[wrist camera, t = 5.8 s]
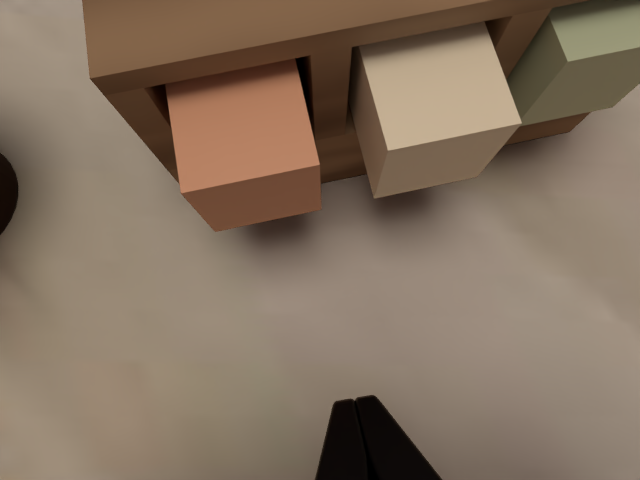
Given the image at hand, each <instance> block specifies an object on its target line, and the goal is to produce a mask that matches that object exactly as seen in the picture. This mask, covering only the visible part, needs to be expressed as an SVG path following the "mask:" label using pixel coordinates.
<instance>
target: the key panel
mask: <svg viewBox="0 0 640 480" xmlns="http://www.w3.org/2000/svg"><path fill="white" fill-rule="evenodd" d="M585 1H590V0H82V3H83V13H84V23H85V34H86V44H87V54H88V65H89V75H90V79H91V80H92V82H93V83H94V84H95V85H96V86H97V87H98V89H99V90H100V91H101V92H102V93H103V95H104V96H105V97H106V98H107V99H108V100H109V102H110V103H111V104H112V105H113V106H114V108H115V109H116V110H117V111H118V112H119V113H120V115H121V116H122V117H123V118H124V119H125V120H126V122H127V123H128V124H129V125H130V126H131V128H132V129H133V130H134V131H135V132H136V133H137V135H138V136H139V137H140V138H141V139H142V140H143V142H144V143H145V144H146V145H147V146H148V148H149V149H150V150H151V151H152V152H153V153H154V155H155V156H156V157H157V158H158V159H159V161H160V162H161V163H162V164H163V165H164V166H165V168H166V169H167V170H168V171H169V172H170V173H171V175H172V176H173V177H174V178H175V179H176V181H177V182H178V183H179V176H178V169H177V162H176V156H175V149H174V142H173V135H172V128H171V121H170V114H169V107H168V100H167V94H166V87H165V84H167V83H172V82H177V81H182V80H187V79H192V78H197V77H202V76H207V75H212V74H217V73H223V72H228V71H233V70H238V69H243V68H248V67H253V66H258V65H263V64H268V63H274V62H279V61H284V60H289V59H294V58H295V60H296V65H297V69H298V73H299V78H300V82H301V86H302V90H303V95H304V99H305V103H306V107H307V112H308V116H309V120H310V124H311V129H312V133H313V137H314V142H315V146H316V150H317V154H318V159H319V163H320V181H321V183H325V182H330V181H335V180H340V179H345V178H349V177H354V176H359V175H364V174H367V170H366V167H365V163H364V159H363V155H362V151H361V148H360V144H359V140H358V136H357V132H356V128H355V125H354V121H353V117H352V113H351V109H350V106H349V102H348V89H349V77H350V64H351V52H352V47H355V46H360V45H365V44H370V43H376V42H381V41H386V40H391V39H396V38H401V37H406V36H411V35H416V34H421V33H427V32H432V31H437V30H442V29H447V28H452V27H457V26H462V25H467V24H472V23H478V22H483V21H484V22H485V25H486V27H487V30H488V33H489V35H490V38H491V41H492V43H493V46H494V49H495V52H496V54H497V57H498V60H499V62H500V65H501V68H502V71H503V73H504V76H505V79H507V78H508V76H509V75H510V73H511V72H512V70H513V69H514V67H515V65H516V64H517V62H518V61H519V59H520V58H521V56H522V55H523V53H524V51H525V50H526V48H527V47H528V45H529V44H530V42H531V41H532V39H533V38H534V36H535V34H536V33H537V31H538V30H539V28H540V27H541V25H542V24H543V22H544V20H545V19H546V17H547V16H548V14H549V13H550V11H551V10H552V8H554V7H559V6H564V5H569V4H574V3H580V2H585ZM589 113H590V112H587V113H582V114H577V115H573V116H568V117H563V118H558V119H553V120H548V121H544V122H539V123H534V124H529V125H524V126H519V127H518V128H517V130H516V131H515V132H514V133H513V134H512V136H511V137H510V138H509V139H508V141H507V142H506V143H505V144H504V145H508V144H513V143H518V142H523V141H527V140H532V139H537V138H542V137H547V136H551V135H556V134H561V133H566V132H570V131H571V130H572V129H573V128H574V127H575V126H576V125H578V124H579V123H580V122H581V121H582V120H583V119H584V118H585V117H586V116H587V115H588V114H589ZM179 184H180V183H179Z"/></svg>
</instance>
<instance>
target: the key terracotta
mask: <svg viewBox="0 0 640 480" xmlns="http://www.w3.org/2000/svg"><path fill="white" fill-rule="evenodd" d="M165 87H166V94H167V100H168V107H169V114H170V121H171V128H172V135H173V142H174V149H175V156H176V162H177V169H178V176H179V183H180V190H181V194H182V195H183V196H184V197H185V198H186V200H187V201H188V202H189V203H190V204H191V205H192V206H193V207H194V209H195V210H196V211H197V212H198V213H199V214H200V215H201V216H202V218H203V219H204V220H205V221H206V222H207V223H208V224H209V225H210V227H211V228H212V229H213V230H214V231H215V232H217V231H222V230H227V229H231V228H236V227H241V226H246V225H250V224H255V223H260V222H265V221H269V220H274V219H279V218H284V217H288V216H293V215H298V214H303V213H308V212H312V211H317V210H322V208H321V181H320V163H319V159H318V154H317V150H316V146H315V142H314V137H313V133H312V129H311V124H310V120H309V116H308V112H307V107H306V103H305V99H304V95H303V90H302V86H301V82H300V78H299V73H298V69H297V65H296V60H295V58H294V59H289V60H284V61H279V62H274V63H268V64H263V65H258V66H253V67H248V68H243V69H238V70H233V71H228V72H223V73H217V74H212V75H207V76H202V77H197V78H192V79H187V80H182V81H177V82H172V83H167V84H165Z"/></svg>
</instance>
